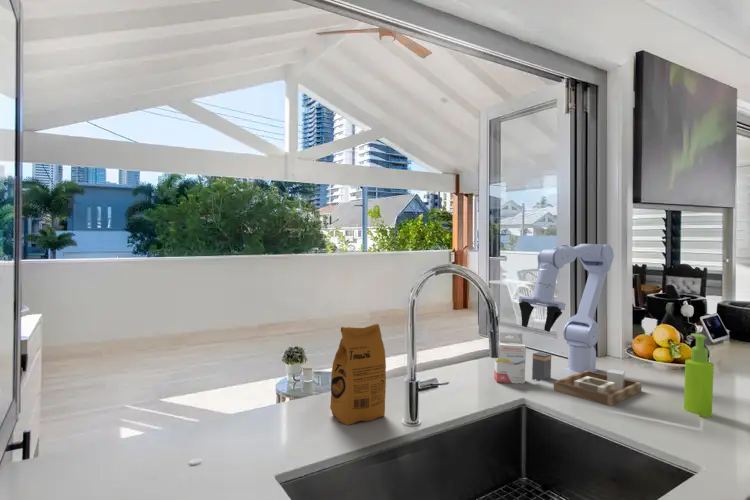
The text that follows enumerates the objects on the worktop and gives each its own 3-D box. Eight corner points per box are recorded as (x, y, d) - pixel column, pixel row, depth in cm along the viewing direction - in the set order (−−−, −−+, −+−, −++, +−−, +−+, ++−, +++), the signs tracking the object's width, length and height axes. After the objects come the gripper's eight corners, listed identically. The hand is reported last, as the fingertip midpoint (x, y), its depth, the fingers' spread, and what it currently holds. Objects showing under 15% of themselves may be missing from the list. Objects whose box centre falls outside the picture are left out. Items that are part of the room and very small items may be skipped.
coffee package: (325, 413, 112) (326, 324, 112) (369, 405, 119) (371, 320, 118) (343, 428, 104) (345, 331, 103) (390, 418, 110) (391, 326, 110)
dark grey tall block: (538, 376, 147) (539, 351, 147) (550, 379, 144) (551, 354, 144) (531, 378, 145) (532, 353, 145) (543, 381, 142) (544, 356, 142)
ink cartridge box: (496, 382, 140) (497, 334, 140) (494, 378, 145) (495, 331, 145) (525, 384, 139) (526, 335, 139) (521, 379, 144) (522, 332, 144)
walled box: (586, 379, 145) (586, 368, 145) (641, 393, 133) (641, 381, 132) (553, 392, 132) (553, 380, 132) (611, 408, 120) (611, 394, 120)
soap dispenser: (705, 409, 120) (708, 333, 120) (715, 418, 114) (718, 338, 113) (679, 406, 122) (681, 331, 122) (688, 415, 116) (690, 336, 115)
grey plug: (608, 385, 137) (609, 369, 137) (624, 388, 135) (624, 371, 135) (606, 389, 134) (607, 372, 134) (622, 391, 131) (622, 374, 131)
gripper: (517, 280, 146) (507, 321, 143) (561, 285, 135) (551, 330, 132) (529, 286, 150) (519, 326, 148) (572, 291, 139) (562, 335, 137)
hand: (535, 328), depth 140 cm, fingers open, 7 cm apart
